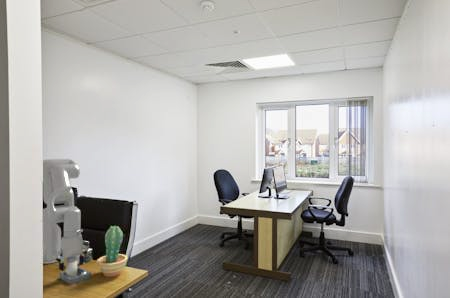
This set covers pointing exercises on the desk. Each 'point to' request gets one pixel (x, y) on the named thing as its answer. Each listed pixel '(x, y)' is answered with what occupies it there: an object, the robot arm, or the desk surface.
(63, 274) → the tray
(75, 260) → the shaker
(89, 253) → the medicine bottle
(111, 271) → the potted cactus
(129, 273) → the desk surface
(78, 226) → the robot arm
